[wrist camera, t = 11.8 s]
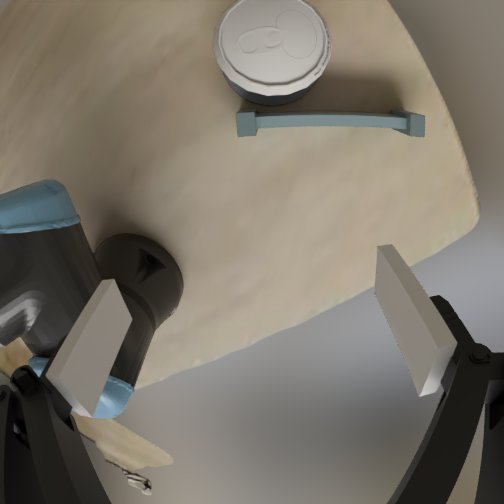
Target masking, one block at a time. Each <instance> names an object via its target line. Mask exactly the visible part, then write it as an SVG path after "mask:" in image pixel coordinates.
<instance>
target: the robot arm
mask: <svg viewBox="0 0 504 504" xmlns="http://www.w3.org/2000/svg"><path fill="white" fill-rule="evenodd" d="M80 221H81V218H80V216H79V215H78V214H77V213H76V211H75V208H74V206H73V204H72V202H71V199H70V197H69V195H68V192H67V190H66V188H65V187H64V185H63V184H62V183H60V182H58V181H56V180H43V181H39V182H36V183H32V184H29V185H26V186H23V187H20V188H17V189H15V190H12V191H9V192H7V193H4V194H1V195H0V347H5V346H7V345H8V344H9V343H11V342H12V341H14V340H15V339H16V338H18V337H21V338H22V340H23V341H24V342H25V344H26V345H27V347H28V348H29V349H30V351H31V352H32V354H33V357H32V358H31V359H29V361H28V365H24V366H21V367H19V368H18V369H16V370H15V371H14V373H13V374H12V376H11V378H10V383H11V384H12V385H13V387H14V388H15V389H16V390H17V391H15V392H13V391H12V390H11V389H10V387H8V386H7V385H1V386H0V504H111V502H110V500H109V498H108V496H107V494H106V492H105V490H104V488H103V486H102V484H101V482H100V480H99V478H98V476H97V474H96V472H95V469H94V467H93V465H92V463H91V460H90V458H89V456H88V453H87V451H86V449H85V446H84V444H83V441H82V439H81V436H80V433H79V431H78V428H77V425H76V422H75V420H74V418H73V416H72V415H71V414H70V412H71V411H74V412H76V413H78V414H79V415H81V416H87V417H94V418H101V419H109V418H114V417H116V416H118V415H120V414H121V413H122V412H123V411H124V409H125V408H126V405H127V402H128V401H129V399H130V397H131V395H132V394H133V393H134V387H135V384H136V381H137V378H138V376H139V373H140V370H141V367H142V364H143V361H144V359H145V356H146V353H147V350H148V348H149V345H150V343H151V340H152V337H153V335H154V332H155V330H156V329H157V328H158V327H159V326H160V325H161V324H162V323H163V322H164V321H165V320H167V319H168V318H169V317H170V316H171V315H172V314H173V313H174V312H175V310H176V309H177V307H178V304H179V302H180V299H181V296H182V293H183V279H182V275H181V272H180V270H179V267H178V265H177V264H176V262H175V261H174V259H173V258H172V257H171V255H170V254H169V253H168V252H167V251H166V250H165V249H163V248H162V247H161V246H160V245H158V244H157V243H155V242H153V241H152V240H149V239H147V238H145V237H142V236H138V235H134V234H119V235H115V236H112V237H110V238H108V239H106V240H105V241H103V242H102V243H101V244H100V246H99V247H98V248H97V249H96V250H95V251H94V253H93V252H92V250H91V248H90V245H89V243H88V241H87V238H86V236H85V233H84V231H83V228H82V226H81V223H80ZM374 293H375V295H376V298H377V300H378V302H379V304H380V306H381V308H382V310H383V312H384V314H385V317H386V319H387V321H388V323H389V325H390V328H391V330H392V332H393V334H394V336H395V339H396V341H397V343H398V346H399V348H400V350H401V353H402V355H403V358H404V360H405V362H406V364H407V367H408V370H409V372H410V374H411V377H412V379H413V382H414V384H415V387H416V390H417V392H418V395H419V397H420V396H423V395H427V394H430V393H434V392H436V391H437V389H438V387H439V385H440V383H441V384H442V386H443V389H444V392H443V394H442V396H441V398H440V400H439V402H438V403H437V405H438V407H437V409H436V411H435V414H434V416H433V418H432V421H431V423H430V425H429V427H428V430H427V432H426V434H425V436H424V438H423V440H422V442H421V444H420V446H419V449H418V450H417V452H416V454H415V456H414V458H413V460H412V462H411V464H410V466H409V467H408V469H407V471H406V473H405V475H404V477H403V478H402V480H401V482H400V484H399V485H398V487H397V488H396V490H395V492H394V493H393V495H392V497H391V498H390V500H389V501H388V503H387V504H446V502H447V501H448V498H449V496H450V494H451V492H452V490H453V488H454V486H455V483H456V481H457V479H458V477H459V474H460V472H461V469H462V467H463V465H464V462H465V459H466V457H467V454H468V452H469V449H470V446H471V443H472V440H473V438H474V435H475V432H476V428H477V425H478V422H479V418H480V415H481V412H482V408H483V405H484V404H485V422H484V423H485V424H484V438H483V450H482V460H481V467H480V474H479V481H478V487H477V493H476V498H475V503H474V504H504V353H492V352H491V351H490V349H488V348H487V347H486V346H484V345H482V344H479V343H475V342H474V340H473V338H472V337H471V335H470V334H469V332H468V331H467V329H466V327H465V326H464V324H463V323H462V321H461V320H460V319H459V317H458V315H457V314H456V312H454V309H453V308H452V306H451V305H450V304H449V302H448V301H447V300H445V299H444V298H443V297H441V296H440V295H437V296H432V297H429V296H428V295H427V293H426V292H425V290H424V289H423V287H422V286H421V284H420V283H419V281H418V280H417V278H416V277H415V275H414V274H413V273H412V271H411V270H410V268H409V267H408V265H407V264H406V263H405V261H404V260H403V258H402V257H401V256H400V254H399V253H398V252H397V250H396V249H395V248H394V246H393V245H392V244H390V245H383V246H378V247H377V264H376V278H375V291H374ZM13 426H15V427H16V428H17V430H18V431H17V433H15V432H14V429H13V428H14V427H13Z"/></svg>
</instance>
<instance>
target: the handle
mask: <svg viewBox="0 0 504 504" xmlns="http://www.w3.org/2000/svg"><path fill="white" fill-rule="evenodd" d="M236 123H237V134H238V137H244V136H256V134H257V130H258V128H274V127H301V126H353V127H380V128H392V129H394V130H397V131H399V132H401V133H404V134H406V135H409V136H415V137H424V135H425V116H424V115H420V114H416V113H413V112H409V111H404V110H392V114H381V113H363V112H280V113H261V114H257V113H256V109H246V110H240V111H238V112H237V113H236Z"/></svg>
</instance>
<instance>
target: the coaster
mask: <svg viewBox="0 0 504 504" xmlns="http://www.w3.org/2000/svg"><path fill="white" fill-rule="evenodd" d="M223 74H224V76H225V78H226V80H227V82H228V83H229V85H230V86H231V87H232V88H233V90H234V91H236V92H237V93H238V94H239V95H240V96H242V97H243V98H245V99H247V100H249V101H251V102H254V103H257V104H261V105H282V104H287V103H290V102H292V101H295V100H297V99H299V98H300V97H302V96H303V95H304V94H306V93H307V92H308V91H309V90H310V89H311V87H312V86H313V85H314V83H315V82H316V80H317V79H316V80H315V81H314V82H313V83H311V84H310V85H309V86H308V87H307V88H304V89H301V90H299V91H296V92H294V93H291V94H289V95H272V96H266V95H262V94H259V93H255V92H251V91H247V90H245V89H244V88H242V87H241V86H239V85H238V84H236V83H234V82H233V81H231V80H230V79H229V78H228V76H227V75H226V74H225V73H224V71H223Z"/></svg>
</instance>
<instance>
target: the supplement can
mask: <svg viewBox="0 0 504 504" xmlns="http://www.w3.org/2000/svg"><path fill="white" fill-rule="evenodd" d="M331 47H332V38H331V35H330V32H329V28H328V25H327V22H326V21H325V20H324V18H323V17H322V16H321V14H320V13H319V12H318V11H317V9H316V8H315V7H314V6H312V5H311V4H309V3H308V2H306V1H304V0H237V1H236V2H235V3H233V4H232V5H231V6H230V7H229V8H228V9H226V10H225V11H224V12H223V14H222V16H221V17H220V19H219V21H218V23H217V25H216V27H215V29H214V39H213V49H214V53H215V56H216V59H217V62H218V65H219V66H220V68H221V69H222V70H223V71H224V73H225V74H226V75H227V76H228V78H229V79H230V80H231V81H233V82H234V83H236V84H238V85H239V86H241V87H242V88H244V89H245V90H247V91H251V92H255V93H259V94H262V95H266V96H272V95H289V94H291V93H294V92H296V91H299V90H301V89H304V88H307V87H308V86H309V85H310V84H311V83H313V82H314V81H315V80H316V79H317V78H318V77H320V76H321V75H322V73H323V71H324V69H325V67H326V66H327V64H328V62H329V60H330V57H331Z"/></svg>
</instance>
